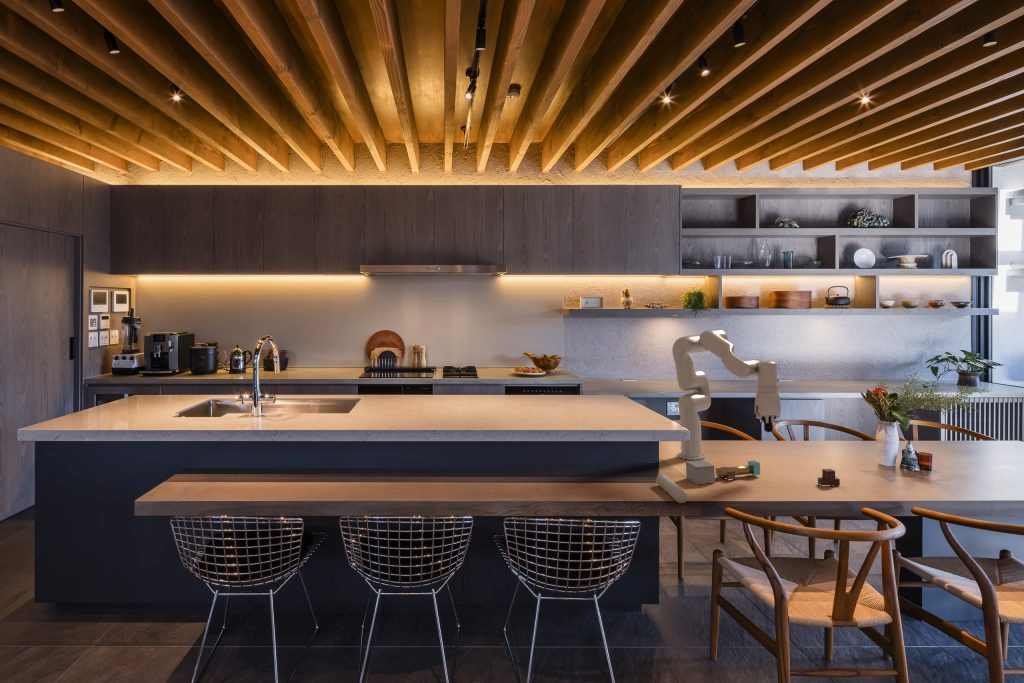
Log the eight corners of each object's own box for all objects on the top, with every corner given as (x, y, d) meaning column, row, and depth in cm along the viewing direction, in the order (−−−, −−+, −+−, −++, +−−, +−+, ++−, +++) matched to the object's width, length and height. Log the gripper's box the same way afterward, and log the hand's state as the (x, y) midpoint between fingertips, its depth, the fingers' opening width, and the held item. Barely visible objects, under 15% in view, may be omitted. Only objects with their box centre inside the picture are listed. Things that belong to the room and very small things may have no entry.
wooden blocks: (822, 493, 239) (822, 476, 239) (803, 483, 254) (803, 466, 254) (860, 492, 239) (860, 475, 239) (839, 481, 254) (838, 465, 254)
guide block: (720, 476, 266) (719, 467, 266) (726, 475, 267) (726, 466, 266) (728, 480, 259) (728, 471, 259) (735, 480, 259) (734, 471, 259)
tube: (691, 494, 232) (670, 475, 257) (678, 490, 232) (658, 472, 256) (687, 507, 232) (666, 487, 257) (674, 503, 232) (654, 484, 257)
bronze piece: (715, 475, 264) (714, 463, 264) (754, 471, 267) (754, 460, 267) (720, 478, 260) (719, 466, 260) (760, 474, 263) (759, 463, 262)
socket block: (686, 478, 265) (685, 461, 265) (703, 476, 266) (703, 459, 266) (696, 484, 255) (696, 467, 255) (714, 483, 257) (714, 465, 256)
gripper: (778, 387, 269) (779, 428, 270) (746, 389, 266) (747, 431, 267) (788, 389, 261) (789, 432, 262) (756, 391, 259) (757, 434, 260)
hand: (768, 431), depth 265 cm, fingers closed
